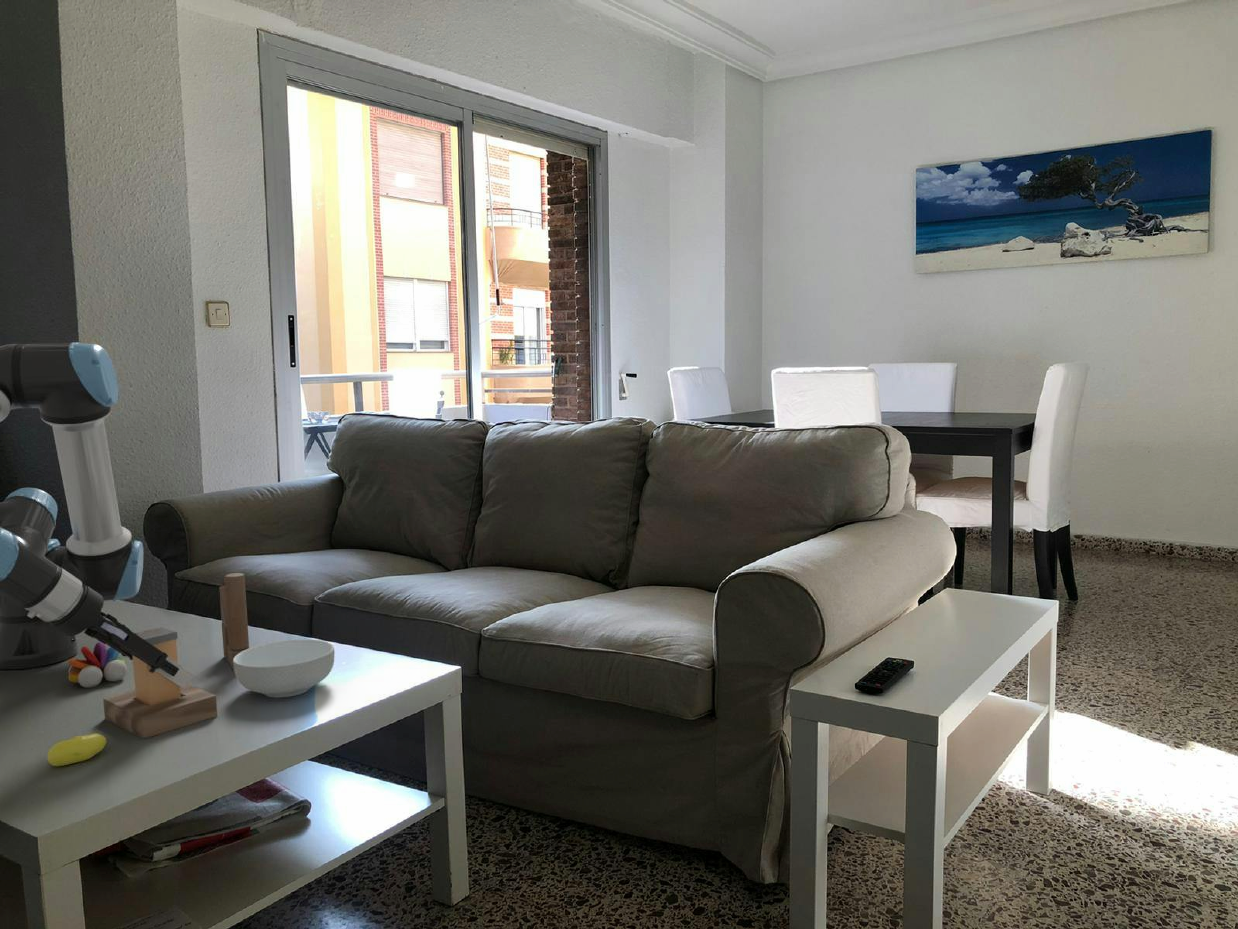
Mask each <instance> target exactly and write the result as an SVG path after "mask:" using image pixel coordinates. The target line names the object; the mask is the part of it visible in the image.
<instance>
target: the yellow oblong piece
mask: <svg viewBox="0 0 1238 929" xmlns="http://www.w3.org/2000/svg"><path fill="white" fill-rule="evenodd" d="M106 744H107V737H105V736H104V735H102V734H100V733H89V734H85V735H80V734H79V735H76V736H75V735H74V736H73V737H71V738H69V739H65V740H61V741H58V742H56V743H55V744H53V745H52V746H51V747H50V749H49V751H48V752H47V756H46V758H47V761H48V763H49V765H50V766H53V767H62V766H69V765H71V764H75V763H80V762H83V761H87V760H89V759H91V758H93V757H94V756H95V755H97V754H98V753H99V752H101V751H102V750H103V749H104V748H105V746H106Z"/></svg>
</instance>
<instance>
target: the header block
mask: <svg viewBox="0 0 1238 929" xmlns="http://www.w3.org/2000/svg"><path fill="white" fill-rule="evenodd" d="M180 694H181V697H180V698H176V699H173V700H169V701H166V702H162V703H159V704H155V705H152V706H148V705H146V704H144V703H142V702H140V701H137V700H136V691H135V689H134V690H130V691H125V692H122V693H117V694H115V695H114V694H113V695H111V696H107V697H104V698H102V700H103V712H104V720H105V721H108V722H110V723H111V724H114V725H116V726H118V727H119V728H122V729H124V730H125V731H128V732H129V733H132V734H133V735H135V736H138V737H139V738H140V739H143V740H144V739H148V738H151V737H154V736H158V735H161V734H164V733H167V732H172V731H174V730H177V729H180V728H183V727H186V726H189V725H193V724H195V723H199V722H202V721H205V720H209V719H212V718H214V717H218V710H217V709H218V708H217V707H218V706H217V695H216V694H214V693H211V692H208V691H206V690H204V689H201V688H198V687H196V686H195V685H191V684H190V683H188V684H187V686H186V687H185V688H184V689H183V688H181V687H180Z"/></svg>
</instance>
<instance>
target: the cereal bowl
mask: <svg viewBox="0 0 1238 929" xmlns="http://www.w3.org/2000/svg"><path fill="white" fill-rule="evenodd" d="M334 662H335V647H334V645H333V644H332V643H331V642H328V641H325V640H320V639H311V638H310V639H305V638H303V639H300V638H299V639H290V640H289V639H287V640H280V641H274V642H267V643H263V644H260V645H255V646H253V647H249V649H247V650H244V651H242V652H240V653H239V654H237V655H236V656H235V657H234V659H233V666H234V670H233V671H234V675H235V677H236V679H237V681H238V683H239V684H240V685H242V687H243V688H244V689H247V690H249V691H252V692H254V693H258V694H263V695H264V696H265V697H269V698H277V699H278V698H279V699H280V698H288V697H289V698H290V697H294V696H299V695H301V694H305V693H306V692H307V691H309V690H310V689H311V688H312V687H314V686H315V685H318V684H319V683H321V682H322V681H324V680H326V678H327V677H328V675H330V673H331V672H332V669H333V667H334Z"/></svg>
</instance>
